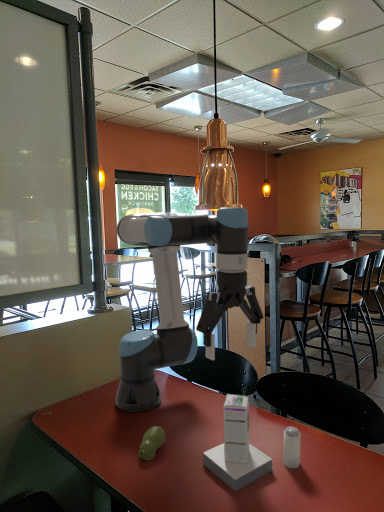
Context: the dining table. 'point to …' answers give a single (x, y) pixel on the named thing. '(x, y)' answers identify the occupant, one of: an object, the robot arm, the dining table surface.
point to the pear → (151, 442)
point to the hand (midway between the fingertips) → (231, 352)
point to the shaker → (291, 447)
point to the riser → (237, 466)
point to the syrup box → (236, 429)
